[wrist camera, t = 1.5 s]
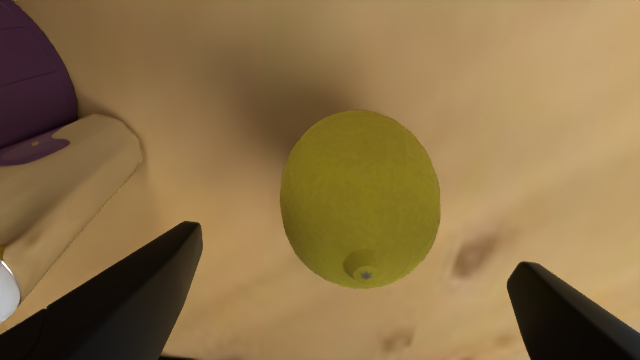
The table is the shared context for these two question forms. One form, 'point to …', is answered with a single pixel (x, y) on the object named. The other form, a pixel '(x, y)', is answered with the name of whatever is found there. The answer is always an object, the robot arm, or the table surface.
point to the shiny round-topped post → (56, 195)
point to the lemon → (360, 199)
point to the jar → (30, 79)
